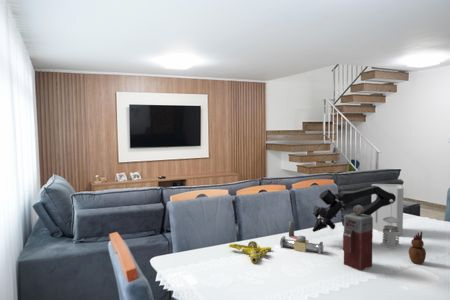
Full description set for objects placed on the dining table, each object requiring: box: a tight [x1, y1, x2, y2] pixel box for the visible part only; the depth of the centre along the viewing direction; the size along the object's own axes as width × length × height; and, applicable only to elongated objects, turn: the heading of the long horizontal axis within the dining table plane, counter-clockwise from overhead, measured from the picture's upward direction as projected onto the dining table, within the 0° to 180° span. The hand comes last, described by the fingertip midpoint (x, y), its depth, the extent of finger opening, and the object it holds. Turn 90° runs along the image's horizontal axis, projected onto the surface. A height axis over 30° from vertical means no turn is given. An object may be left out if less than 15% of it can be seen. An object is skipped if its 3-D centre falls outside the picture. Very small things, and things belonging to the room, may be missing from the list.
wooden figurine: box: [408, 230, 427, 265], centre depth 155 cm, size 7×6×15 cm
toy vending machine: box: [342, 204, 374, 271], centre depth 152 cm, size 9×11×28 cm
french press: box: [380, 199, 401, 249], centre depth 180 cm, size 10×12×25 cm
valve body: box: [279, 235, 324, 255], centre depth 174 cm, size 22×6×5 cm, turn 61°
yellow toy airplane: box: [228, 240, 272, 264], centre depth 166 cm, size 22×6×20 cm
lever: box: [288, 220, 307, 242], centre depth 177 cm, size 11×4×8 cm, turn 36°
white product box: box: [370, 183, 404, 237], centre depth 205 cm, size 19×15×28 cm
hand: (313, 231), depth 182 cm, fingers closed
